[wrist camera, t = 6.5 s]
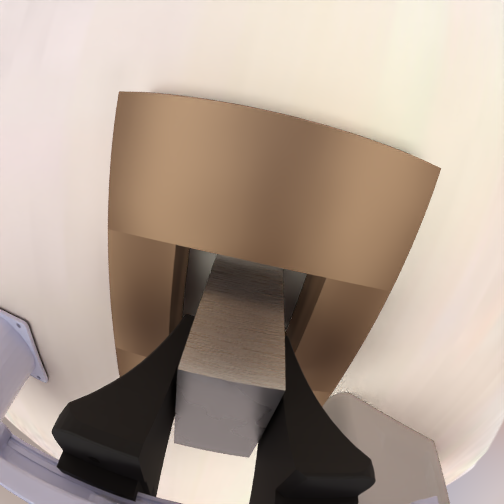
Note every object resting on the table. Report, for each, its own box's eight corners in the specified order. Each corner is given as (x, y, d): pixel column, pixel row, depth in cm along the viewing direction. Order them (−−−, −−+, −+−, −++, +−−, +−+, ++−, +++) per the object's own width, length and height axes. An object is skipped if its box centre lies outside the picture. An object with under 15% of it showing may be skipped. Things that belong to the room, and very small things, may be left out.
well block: (137, 369, 20) (124, 400, 17) (149, 92, 12) (118, 91, 9) (298, 403, 20) (300, 437, 18) (410, 154, 12) (440, 168, 9)
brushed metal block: (207, 319, 17) (174, 442, 10) (221, 242, 15) (177, 369, 8) (259, 330, 17) (248, 457, 10) (282, 255, 15) (285, 390, 8)
